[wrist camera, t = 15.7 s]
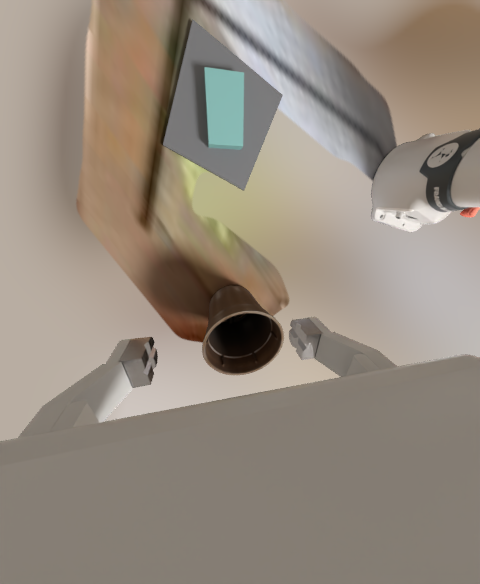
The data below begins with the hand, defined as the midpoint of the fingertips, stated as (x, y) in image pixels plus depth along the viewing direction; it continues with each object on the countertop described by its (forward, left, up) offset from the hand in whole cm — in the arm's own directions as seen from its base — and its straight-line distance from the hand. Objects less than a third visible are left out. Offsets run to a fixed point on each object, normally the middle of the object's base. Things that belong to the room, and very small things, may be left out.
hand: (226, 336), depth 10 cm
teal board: (+3, -17, -31) cm, 36 cm away
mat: (+5, -20, -33) cm, 39 cm away
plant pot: (-12, +14, -33) cm, 38 cm away
